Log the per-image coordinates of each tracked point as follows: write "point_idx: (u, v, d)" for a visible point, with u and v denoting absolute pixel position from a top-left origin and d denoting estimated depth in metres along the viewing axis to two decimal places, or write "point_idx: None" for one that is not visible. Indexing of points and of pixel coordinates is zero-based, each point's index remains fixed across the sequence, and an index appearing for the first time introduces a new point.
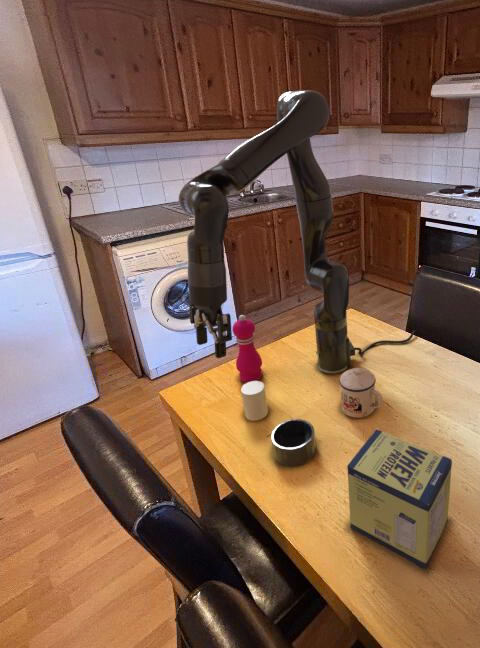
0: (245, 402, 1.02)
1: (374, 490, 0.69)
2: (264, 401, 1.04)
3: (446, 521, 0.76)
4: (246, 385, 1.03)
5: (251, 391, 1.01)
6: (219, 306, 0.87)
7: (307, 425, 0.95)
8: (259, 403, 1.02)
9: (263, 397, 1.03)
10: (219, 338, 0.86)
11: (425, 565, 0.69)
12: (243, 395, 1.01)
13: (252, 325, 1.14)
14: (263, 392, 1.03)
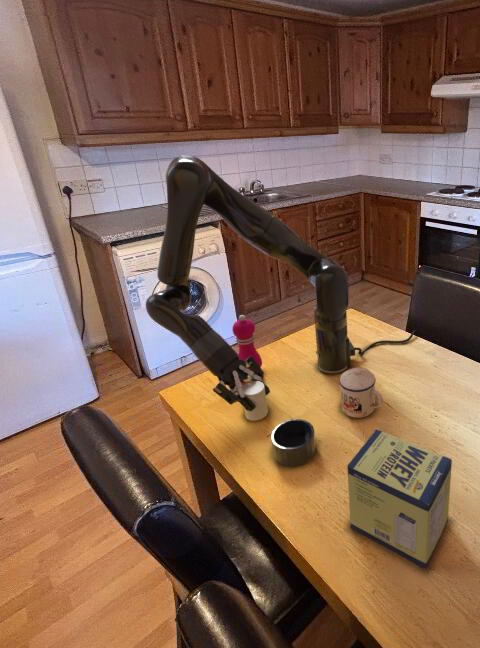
0: None
1: (374, 490, 0.69)
2: (264, 401, 1.04)
3: (446, 521, 0.76)
4: (246, 386, 1.03)
5: (251, 391, 1.01)
6: (218, 373, 1.00)
7: (307, 425, 0.95)
8: (259, 403, 1.02)
9: (263, 397, 1.03)
10: None
11: (425, 565, 0.69)
12: None
13: (252, 325, 1.14)
14: (263, 392, 1.03)
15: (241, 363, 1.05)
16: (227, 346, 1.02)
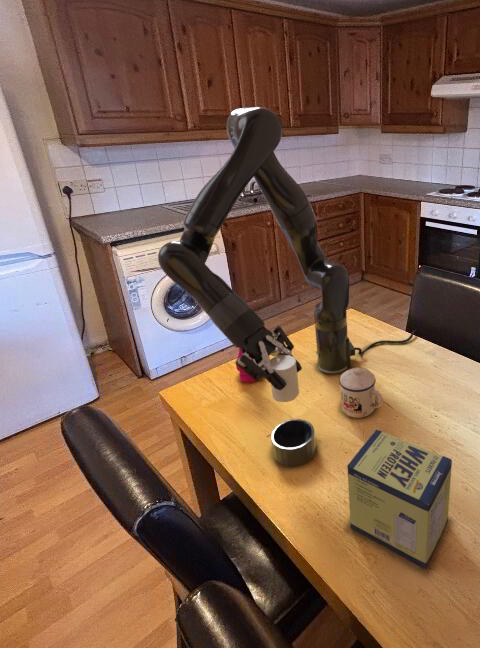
0: None
1: (374, 490, 0.69)
2: (295, 379, 0.86)
3: (446, 521, 0.76)
4: (274, 360, 0.86)
5: (281, 366, 0.84)
6: (242, 344, 0.82)
7: (307, 425, 0.95)
8: (290, 380, 0.85)
9: (295, 374, 0.86)
10: None
11: (425, 565, 0.69)
12: None
13: None
14: (295, 368, 0.85)
15: (268, 333, 0.88)
16: (252, 312, 0.85)
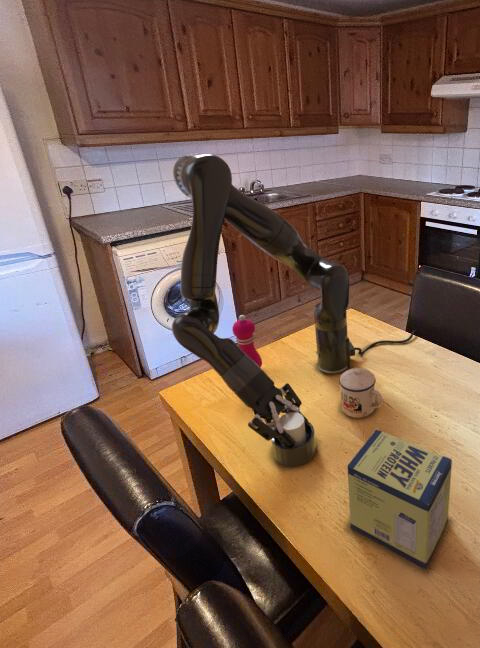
0: None
1: (374, 490, 0.69)
2: (304, 436, 0.91)
3: (446, 521, 0.76)
4: (284, 418, 0.91)
5: (290, 426, 0.89)
6: (254, 405, 0.88)
7: None
8: (299, 438, 0.90)
9: (303, 432, 0.91)
10: None
11: (425, 565, 0.69)
12: None
13: (252, 325, 1.14)
14: (303, 426, 0.91)
15: (277, 392, 0.93)
16: (262, 374, 0.90)
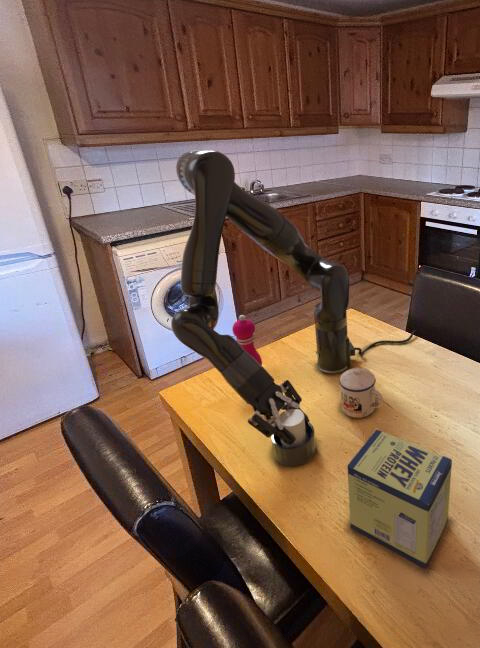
0: None
1: (374, 490, 0.69)
2: (304, 432, 0.91)
3: (446, 521, 0.76)
4: (283, 415, 0.91)
5: (290, 422, 0.89)
6: (253, 402, 0.87)
7: (307, 425, 0.95)
8: (299, 435, 0.90)
9: (303, 428, 0.91)
10: None
11: (425, 565, 0.69)
12: None
13: (252, 325, 1.14)
14: (303, 422, 0.90)
15: (277, 389, 0.93)
16: (262, 370, 0.90)
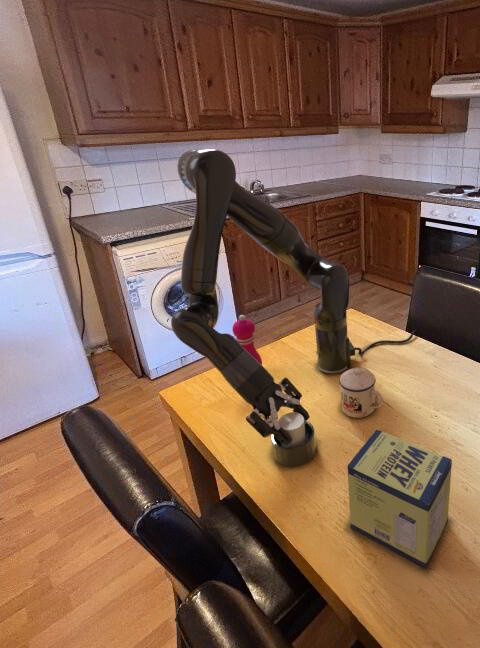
0: None
1: (374, 490, 0.69)
2: (304, 436, 0.91)
3: (446, 521, 0.76)
4: (283, 418, 0.91)
5: (290, 426, 0.89)
6: (253, 401, 0.87)
7: (307, 425, 0.95)
8: (298, 438, 0.90)
9: (303, 432, 0.91)
10: None
11: (425, 565, 0.69)
12: None
13: (252, 325, 1.14)
14: (303, 426, 0.91)
15: (277, 388, 0.93)
16: (262, 369, 0.90)
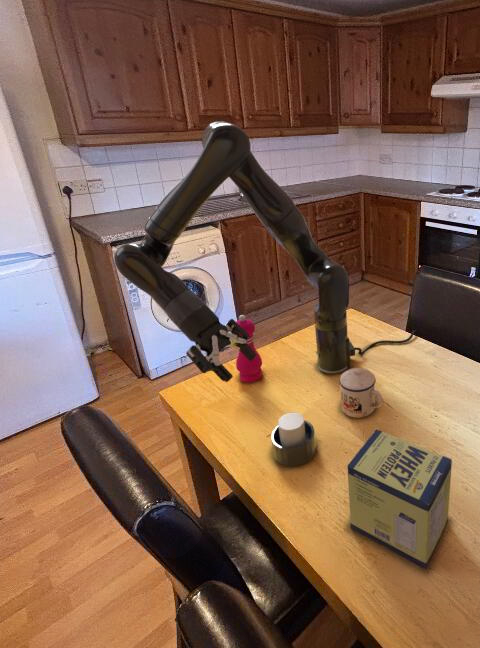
0: (283, 438, 0.90)
1: (374, 490, 0.69)
2: (304, 436, 0.91)
3: (446, 521, 0.76)
4: (283, 418, 0.91)
5: (290, 426, 0.89)
6: (196, 338, 0.88)
7: (307, 425, 0.95)
8: (298, 438, 0.90)
9: (303, 432, 0.91)
10: None
11: (425, 565, 0.69)
12: (281, 430, 0.89)
13: (252, 325, 1.14)
14: (303, 426, 0.91)
15: (222, 328, 0.93)
16: (206, 308, 0.90)
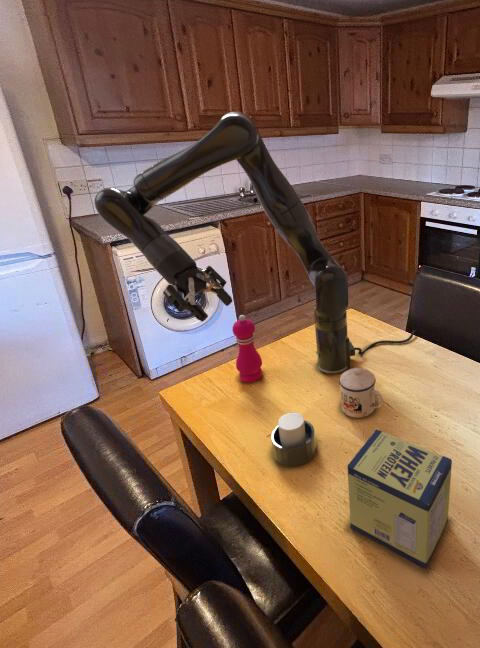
0: (283, 438, 0.90)
1: (374, 490, 0.69)
2: (304, 436, 0.91)
3: (446, 521, 0.76)
4: (283, 418, 0.91)
5: (290, 426, 0.89)
6: (173, 279, 0.92)
7: (307, 425, 0.95)
8: (298, 438, 0.90)
9: (303, 432, 0.91)
10: None
11: (425, 565, 0.69)
12: (281, 430, 0.89)
13: (252, 325, 1.14)
14: (303, 426, 0.91)
15: (200, 273, 0.97)
16: (183, 252, 0.94)
